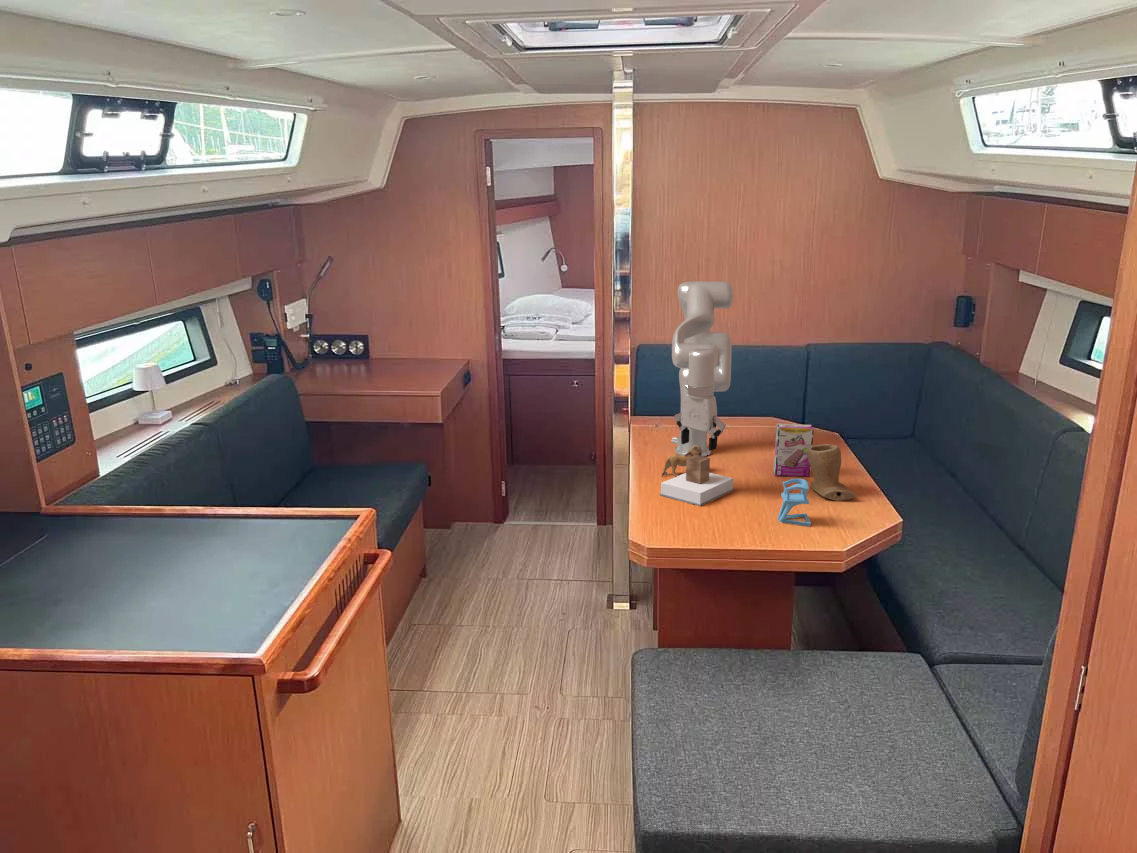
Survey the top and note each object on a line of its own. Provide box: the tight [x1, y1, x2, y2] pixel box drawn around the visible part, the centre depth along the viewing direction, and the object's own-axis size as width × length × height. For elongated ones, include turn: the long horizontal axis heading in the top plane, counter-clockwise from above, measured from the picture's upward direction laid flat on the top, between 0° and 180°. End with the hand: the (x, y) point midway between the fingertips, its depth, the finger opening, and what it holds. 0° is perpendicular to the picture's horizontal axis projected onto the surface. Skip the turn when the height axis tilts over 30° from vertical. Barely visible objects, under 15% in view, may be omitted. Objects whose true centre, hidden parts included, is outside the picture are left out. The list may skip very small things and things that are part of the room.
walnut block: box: [685, 455, 711, 484], centre depth 258 cm, size 5×5×7 cm
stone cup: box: [807, 443, 857, 502], centre depth 256 cm, size 15×12×15 cm
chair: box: [777, 478, 812, 527], centre depth 236 cm, size 8×8×12 cm
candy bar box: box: [773, 423, 815, 478], centre depth 274 cm, size 11×5×16 cm, turn 84°
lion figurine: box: [661, 445, 702, 477], centre depth 277 cm, size 15×5×9 cm, turn 115°
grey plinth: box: [659, 472, 735, 507], centre depth 259 cm, size 14×18×4 cm
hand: (698, 446), depth 257 cm, fingers open, 9 cm apart
